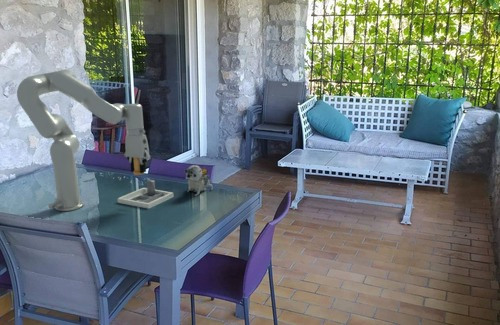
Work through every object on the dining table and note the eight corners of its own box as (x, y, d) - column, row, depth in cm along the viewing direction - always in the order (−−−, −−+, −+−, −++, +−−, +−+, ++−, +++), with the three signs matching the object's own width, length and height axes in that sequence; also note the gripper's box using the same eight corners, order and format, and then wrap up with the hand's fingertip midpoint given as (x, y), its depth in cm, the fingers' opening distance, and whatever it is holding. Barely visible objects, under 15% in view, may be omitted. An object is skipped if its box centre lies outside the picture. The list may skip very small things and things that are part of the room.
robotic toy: (177, 196, 233) (175, 166, 229) (197, 187, 248) (196, 158, 244) (199, 200, 227) (198, 169, 223) (219, 190, 242) (218, 161, 238)
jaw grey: (152, 199, 227) (151, 182, 225) (144, 197, 229) (143, 181, 227) (158, 196, 231) (157, 180, 229) (150, 195, 233) (149, 179, 231)
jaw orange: (146, 172, 221) (144, 155, 219) (139, 175, 217) (138, 158, 215) (138, 171, 223) (136, 154, 221) (131, 174, 219) (129, 157, 217)
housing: (148, 210, 215) (148, 204, 214) (118, 204, 223) (117, 198, 222) (173, 198, 230) (173, 192, 229) (143, 193, 238) (143, 187, 238)
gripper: (155, 131, 214) (158, 171, 219) (126, 129, 222) (129, 167, 227) (144, 135, 208) (148, 176, 213) (114, 132, 216) (118, 171, 220)
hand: (138, 171), depth 220 cm, fingers closed on jaw orange, 4 cm apart
